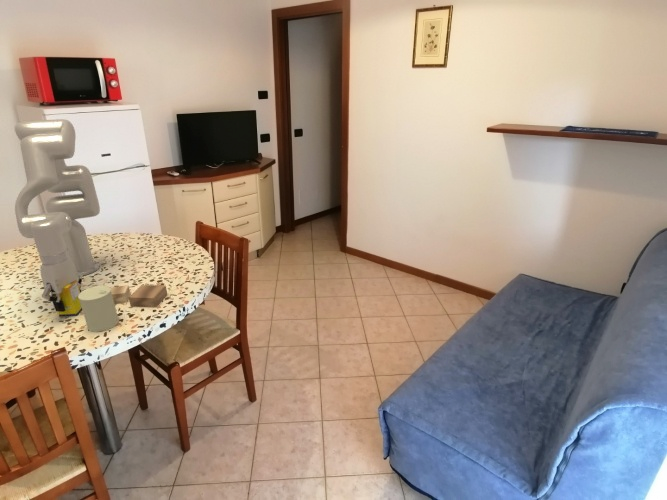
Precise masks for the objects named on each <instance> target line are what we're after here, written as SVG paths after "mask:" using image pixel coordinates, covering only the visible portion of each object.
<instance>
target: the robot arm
mask: <svg viewBox="0 0 667 500" xmlns="http://www.w3.org/2000/svg"><path fill="white" fill-rule="evenodd" d="M14 132H15V134H16V136H17V138H18V139H19V141H20V151H21V156H22V161H23V168H24V172H25V178H26V183H25V186H24V187H23V188H22V189H21V190H20V192H19V193H18V195H17V197H16V200H15V203H14V212H15V213H14V214H15V218H16V223H17V224H16V225H17V228H18V232H19V233H20V235H21V236H22V237H24V238H25V239H33V240H34V244H35V247H36V250H37V252H38V256H39V258H40V262H41V265H40V266H39V267H40V268H39V269H40V277H41V281H42V285H43V288H44V290H43V292H42V295H41V297H42V298H43V299H45V300H47V301H50V302H52V305H53V307H54V309H55V311H56V312H57V311H60V312H64V311H65V307H64V304H63V301H61V300H60V298H61V293H62V292H63V291H64V289H63V288H64V287H65V286H67V285H69V284H70V283H72V282H73V281H75V280H77V283H78V286H79V289H80V293H81V292H82V290H81V288H82V282H83V276H87V275H90V274H93V273H95V272H96V271H98V270H99V268H100V264H99V262H98V261H97V262H96V261H94V258H93V253H92V250H91V246H90V244H89V240H88V235H87V233H86V229H85V227H84V226H83V224H82V223H80V222H79V221H78V220H79V219H85V218H93V217H97V216H98V215H99V214H100V211H101V207H100V203H99V199H98V195H97V191H96V190H97V189H96V187H95V184H94V180H93V176H92V173H91V171H90V169H89V168H88V167H86V166H85V165H83V164H79V165H78V164H77V165H67V164H66V161H65V160H67V159H72V158H73V157H74V155H75V153H76V152H75V150H76V137H77V136H76V129H75V127H74V124H73V123H72V122H71V121H69V120H67V119H63V118H61V119H59V118H58V119H57V118H56V119H36V120H35V119H34V120H25V121H20V122H17V123H16V124H15V125H14ZM46 191H47V192H49V193H53V194H56V193H57V194H59V193H70V192H78V191H79V192H81V193H74V194H66V195H65V194H64V195H57V196H54V197H50V198H49V199H48V200H47V201H46V202H45V209H46V212H42V213H35V214H29V212H28V210H29V205H30V203H31V202H32V201H33V200H34V199H35V198H36V197H37V196H38V195H40V194H42V193H44V192H46ZM53 290H54V291H55V292H54V291H53ZM55 294H57V295H56V298H55Z"/></svg>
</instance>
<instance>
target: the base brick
mask: <svg viewBox="0 0 667 500" xmlns="http://www.w3.org/2000/svg"><path fill="white" fill-rule="evenodd" d="M167 296H168V291H167V286H166V285H157V284H153V285H152V284H141V285H140V286H138V287H137V289H136V290H134V292H132V293H131V295H130V296H129V297H128V298H129V300H128V302H129V305H130V307H131V308H133V307H134V308H157V307H158V305H159V304H160V303H161V302H162V301H163V300H164V299H165V298H166V297H167Z"/></svg>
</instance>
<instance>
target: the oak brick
mask: <svg viewBox="0 0 667 500" xmlns="http://www.w3.org/2000/svg"><path fill="white" fill-rule="evenodd" d="M109 287H110V286H109ZM110 288H111V293H112V297H113V301H114V304H115V305H118V304H119V305H120V304H126V303H128V302H129V298H128V297H129V296H130V295H132V293H131V290H130V286H129V284H126V285H125V284H124V285H119V286H117V285H116V286H111V287H110Z"/></svg>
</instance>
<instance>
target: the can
mask: <svg viewBox="0 0 667 500" xmlns="http://www.w3.org/2000/svg"><path fill="white" fill-rule="evenodd" d="M78 298H79V301H80V304H81V307H82V310H81V311H82V312H83V313H82V314H83V317H84V319H85V323H86V329H87V330H88V331H90V332H94V333H97V332H104V331H108V330H110V329H111V328H114V327H115V326H117V324H119V322H120V317H119V315H118V313H117V309H116V304H114V301H113V297H112V293H111V288H110V286H107V285H96V286H91V287H88V288H86V289H84V290H83V291H82V290H81V293H80V294H79V295H78Z"/></svg>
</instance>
